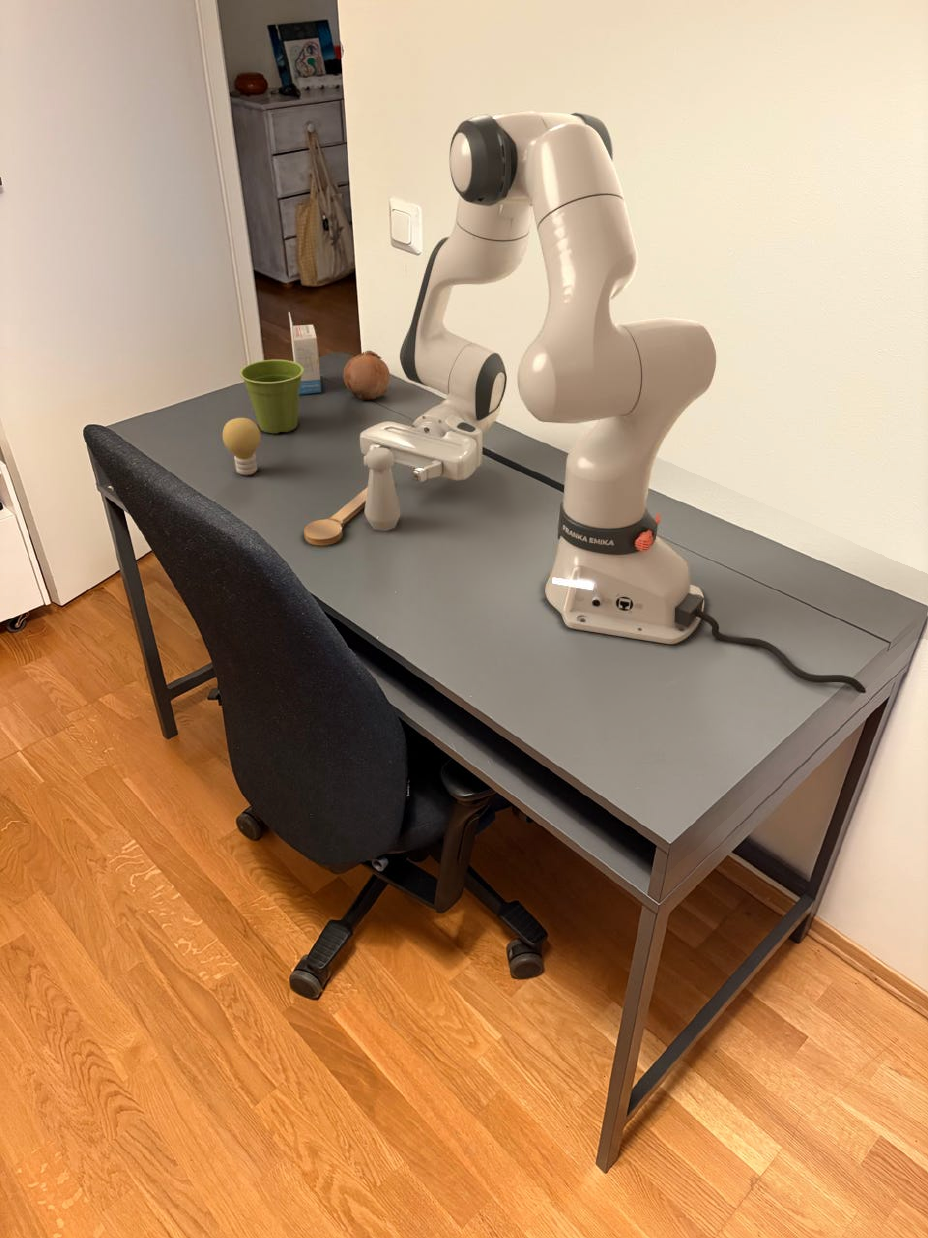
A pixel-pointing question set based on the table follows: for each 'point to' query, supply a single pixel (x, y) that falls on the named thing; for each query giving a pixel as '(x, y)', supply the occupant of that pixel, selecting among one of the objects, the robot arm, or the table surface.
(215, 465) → the table surface
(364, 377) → the onion
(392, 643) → the table surface
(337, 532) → the wooden spoon
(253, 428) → the light bulb
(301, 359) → the ink box
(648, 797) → the table surface
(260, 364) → the plant pot
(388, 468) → the salt shaker
